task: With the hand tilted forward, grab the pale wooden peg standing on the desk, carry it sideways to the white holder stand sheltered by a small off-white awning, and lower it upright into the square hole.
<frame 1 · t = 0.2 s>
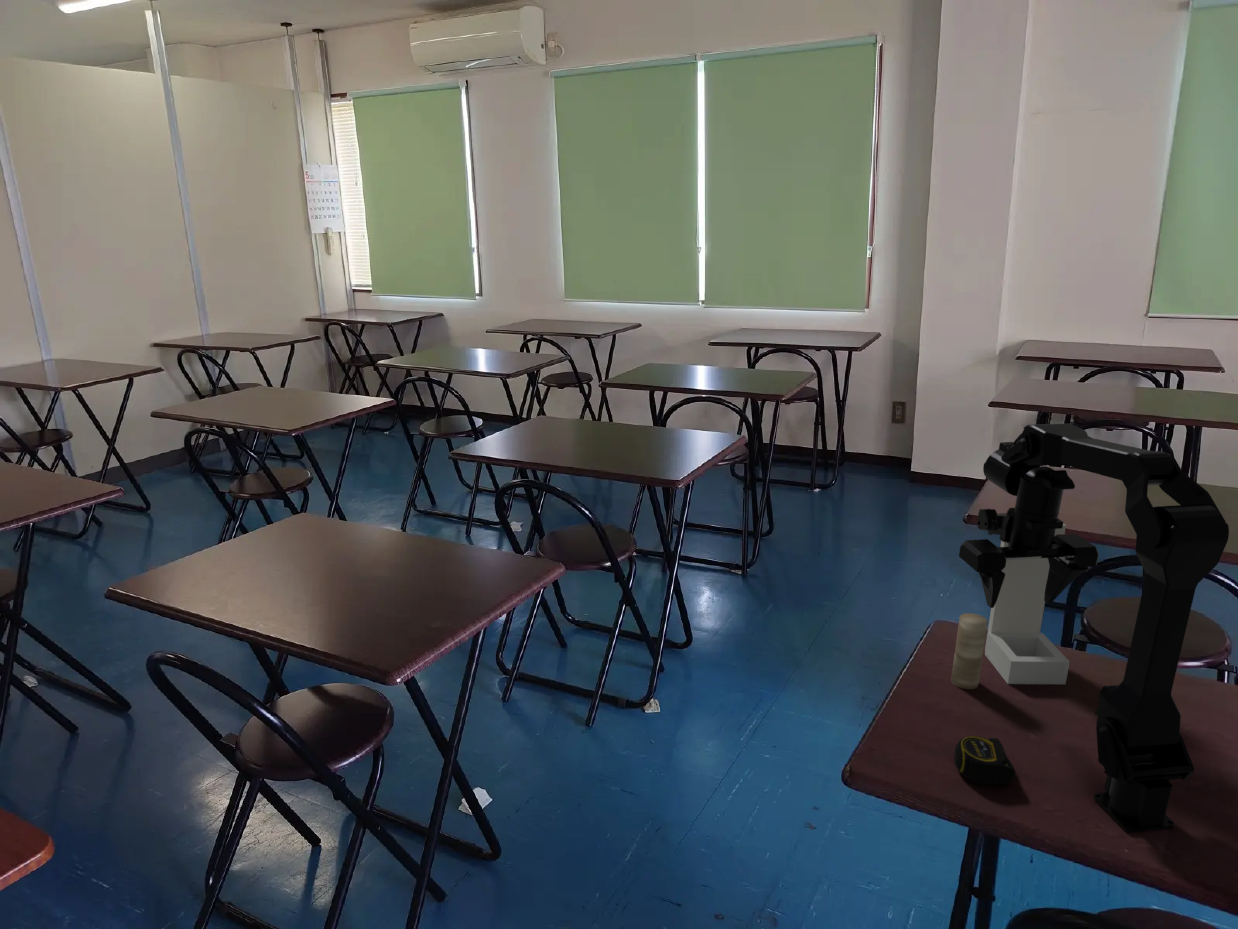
hand: (1018, 604, 128), 14 cm above the table, fingers open, 9 cm apart
white holder stand: (1023, 668, 138), on the table
peg: (964, 682, 134), on the table
tape measure: (984, 773, 114), on the table
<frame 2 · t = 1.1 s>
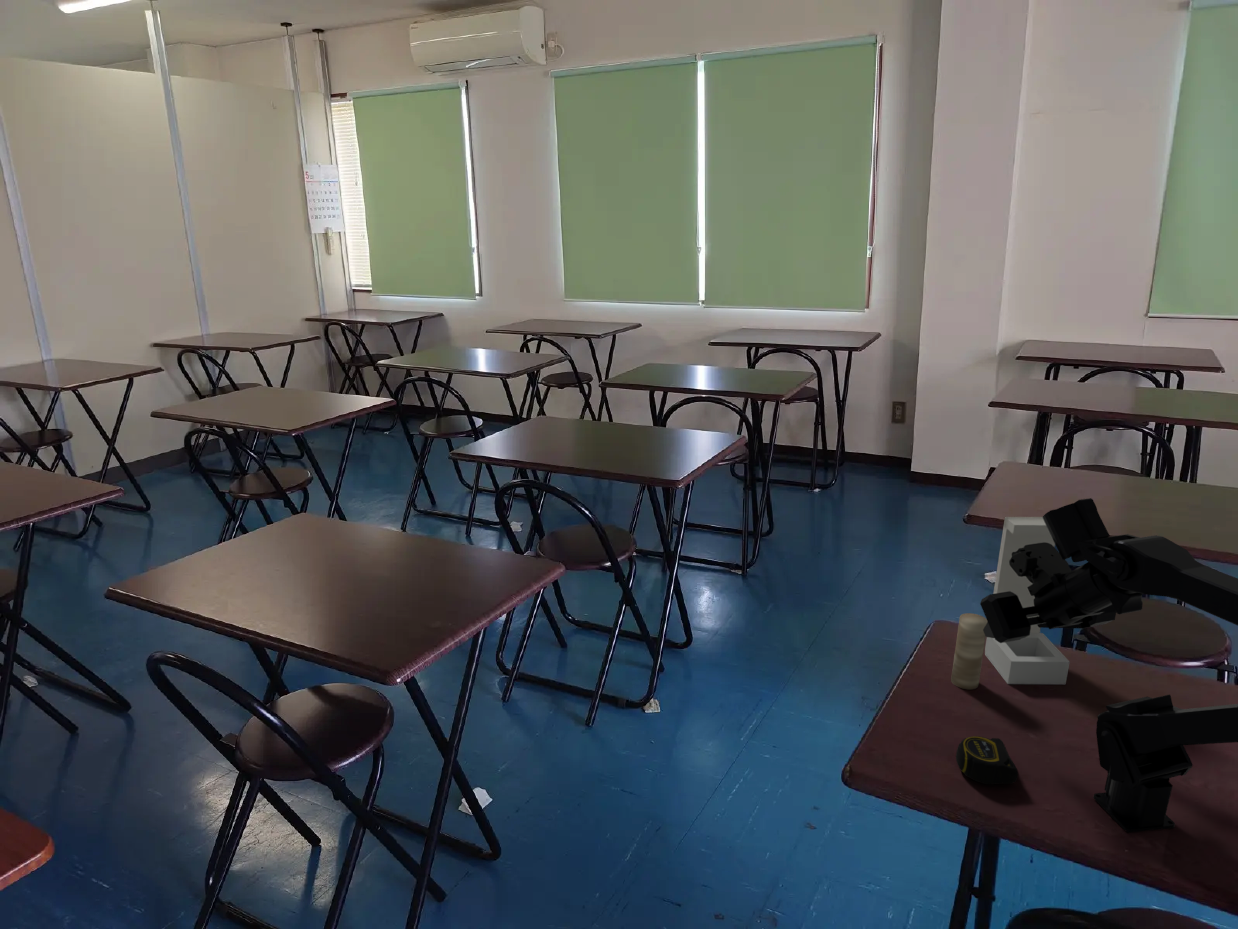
hand: (1011, 628, 123), 13 cm above the table, fingers open, 9 cm apart
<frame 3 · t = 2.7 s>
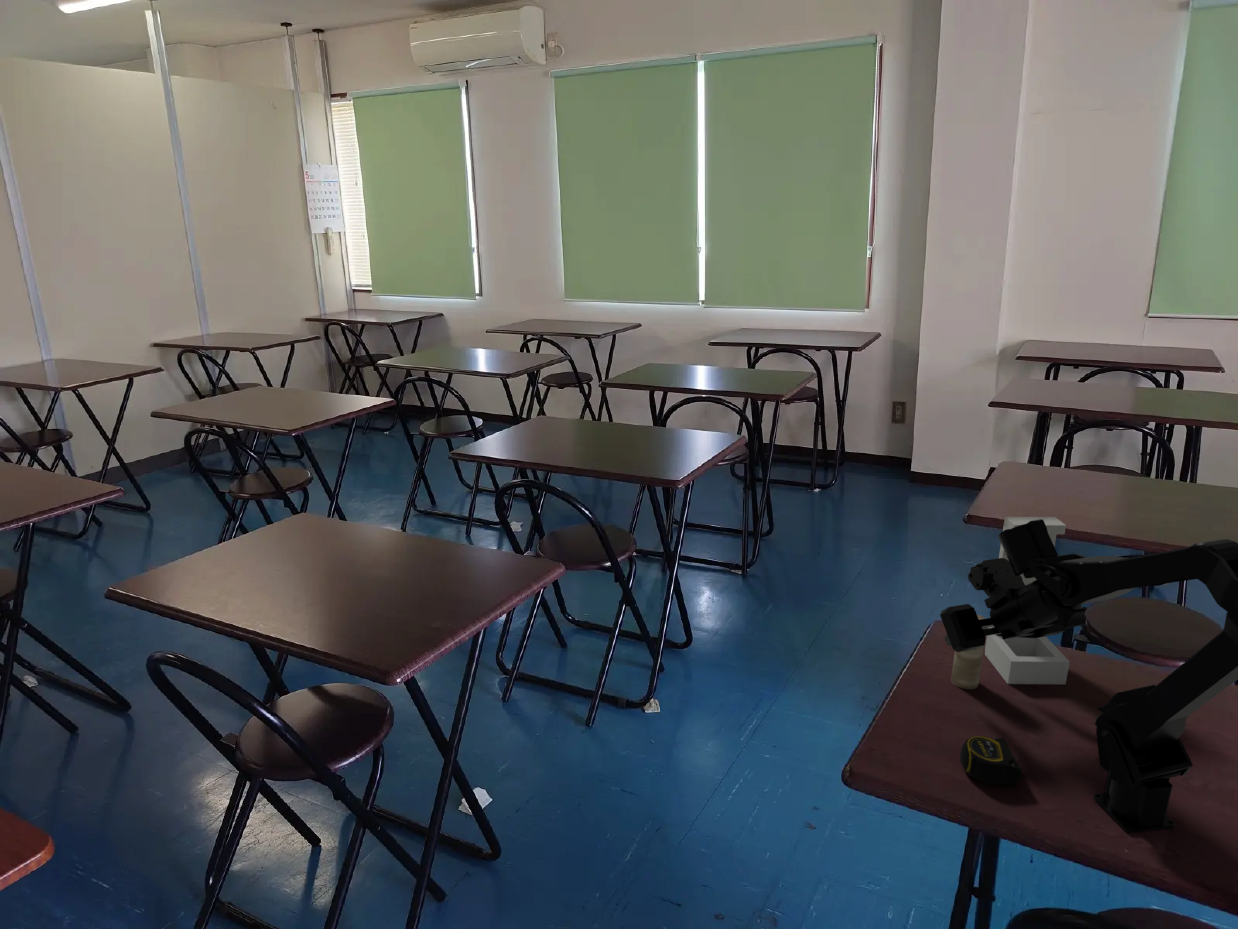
hand: (971, 637, 131), 8 cm above the table, fingers open, 9 cm apart
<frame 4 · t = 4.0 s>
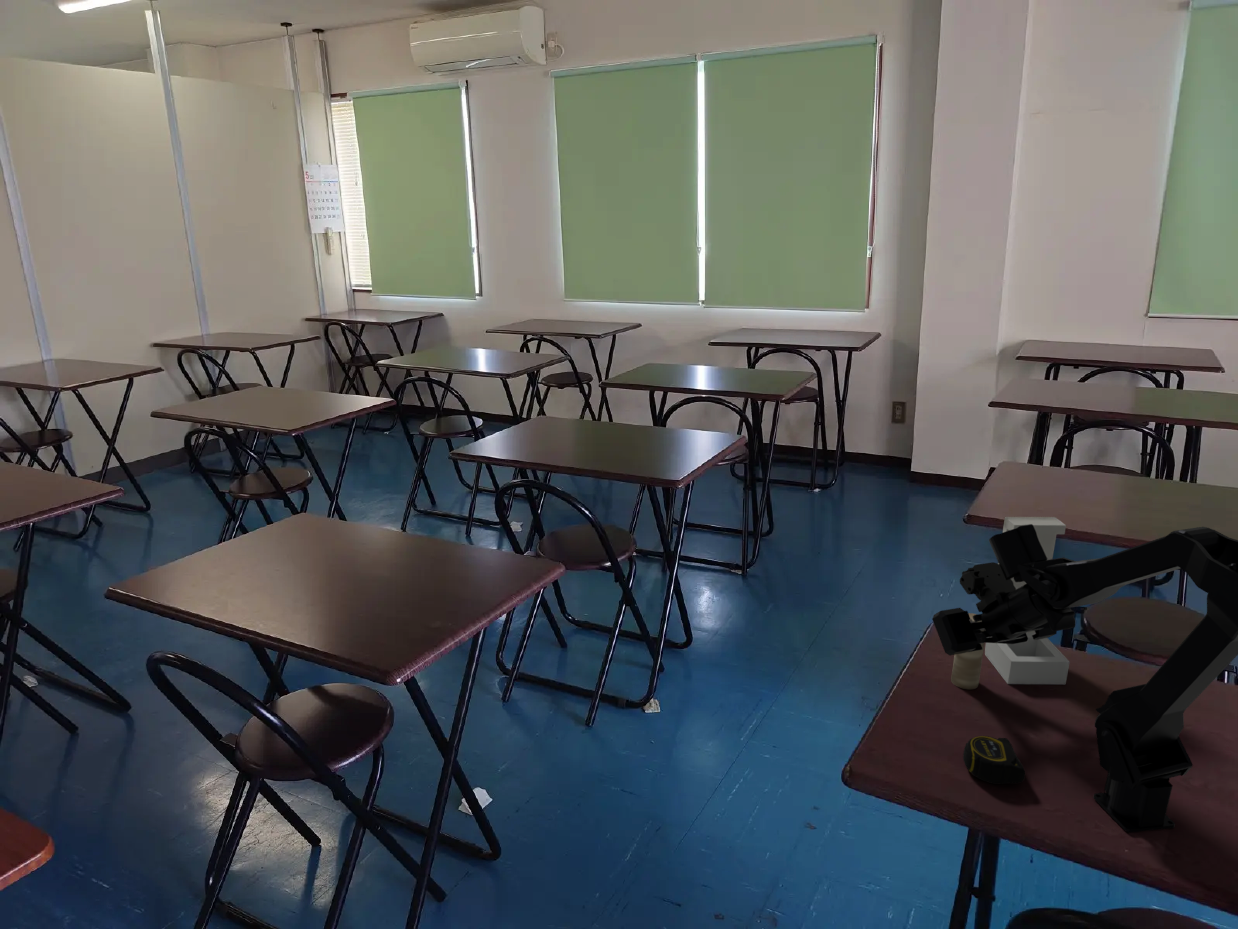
hand: (964, 640, 133), 7 cm above the table, fingers closed on peg, 4 cm apart
peg: (964, 682, 134), on the table, touching gripper
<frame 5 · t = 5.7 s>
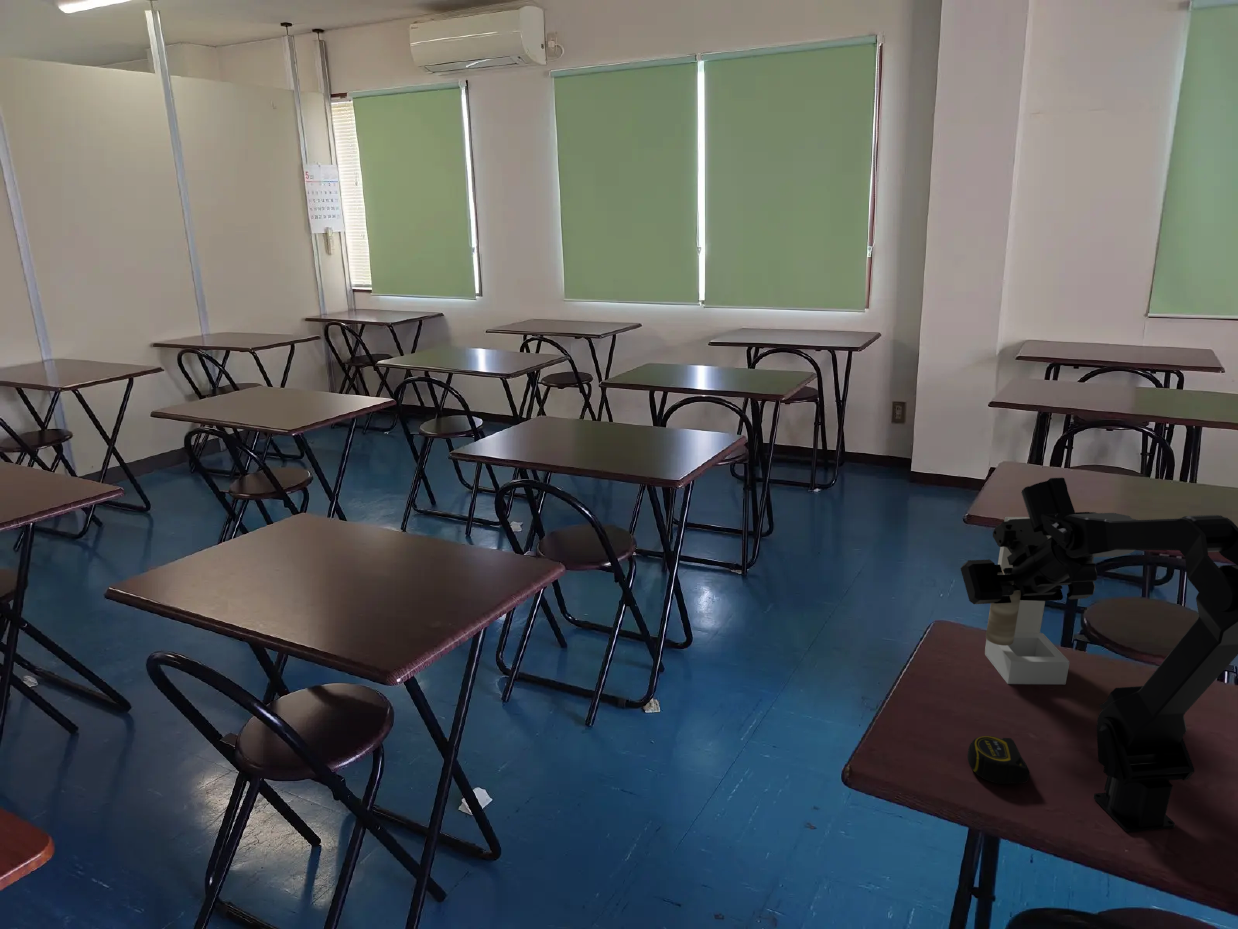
hand: (1000, 597, 134), 13 cm above the table, fingers closed on peg, 4 cm apart
peg: (999, 639, 135), point 6 cm above the table, touching gripper
when the fingers open (8 cm above the table, at t = 7.5 s): peg drops 1 cm, resting in white holder stand.
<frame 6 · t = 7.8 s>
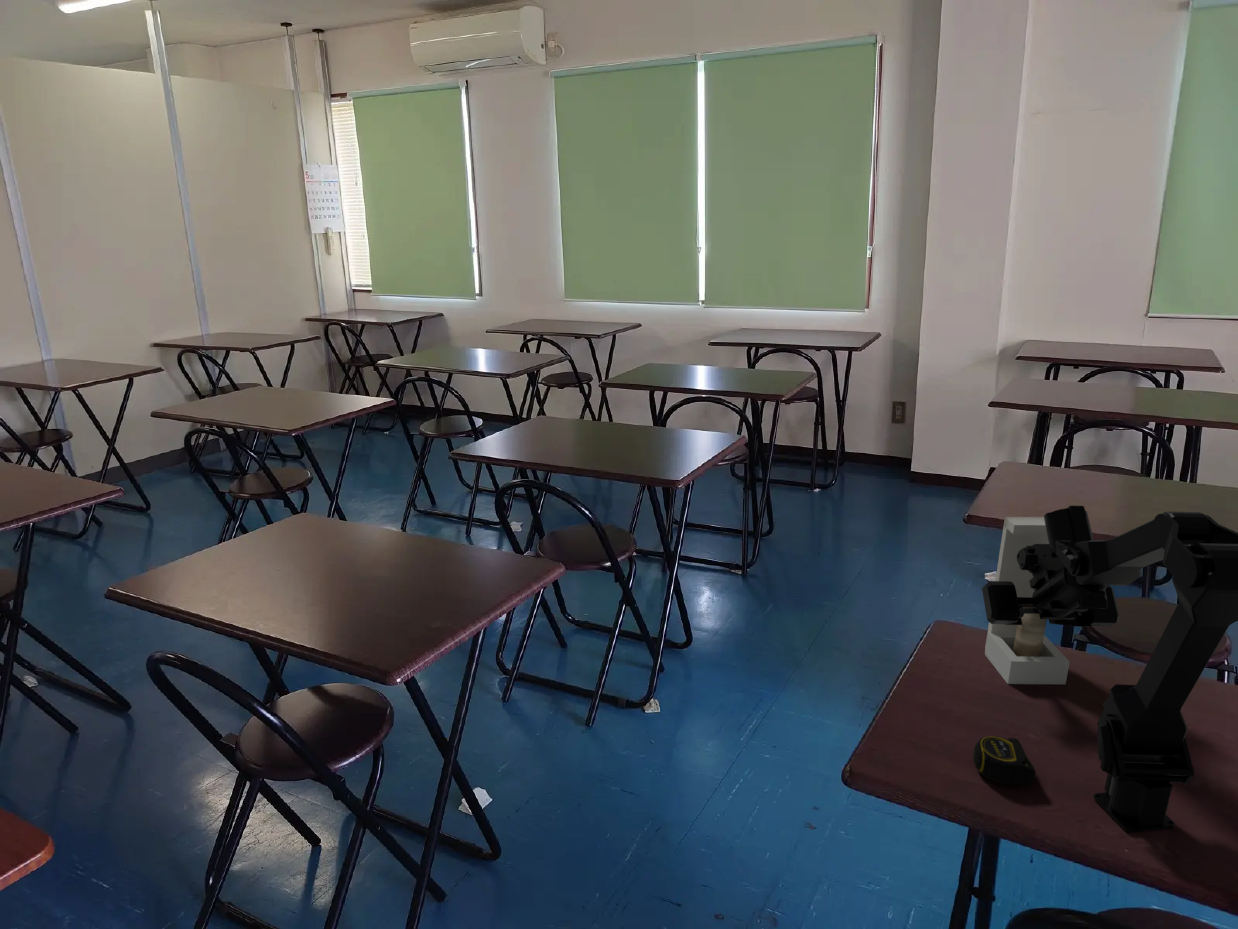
hand: (1027, 620, 137), 8 cm above the table, fingers open, 7 cm apart
peg: (1024, 669, 138), resting in white holder stand
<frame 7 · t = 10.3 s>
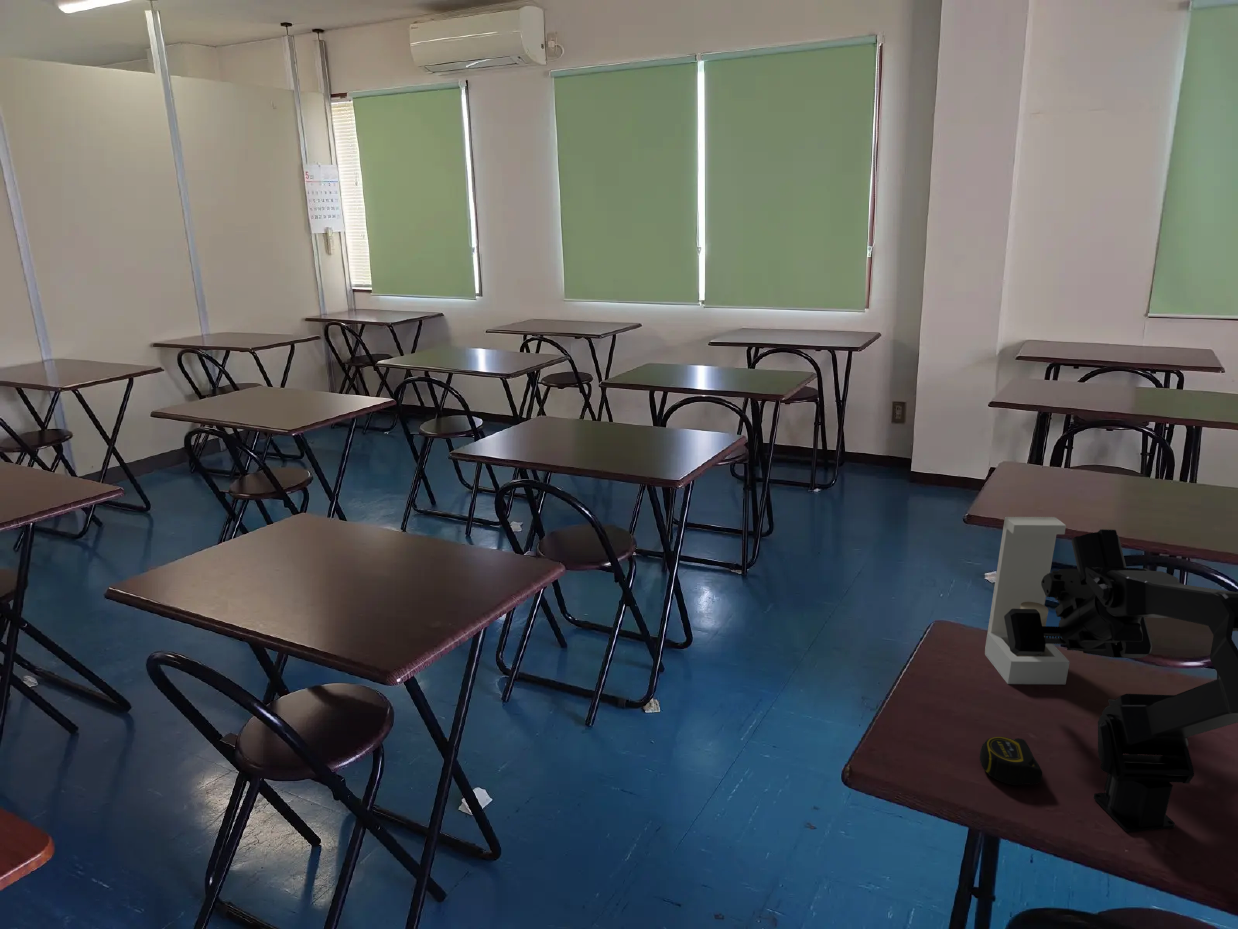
hand: (1052, 648, 128), 8 cm above the table, fingers open, 9 cm apart
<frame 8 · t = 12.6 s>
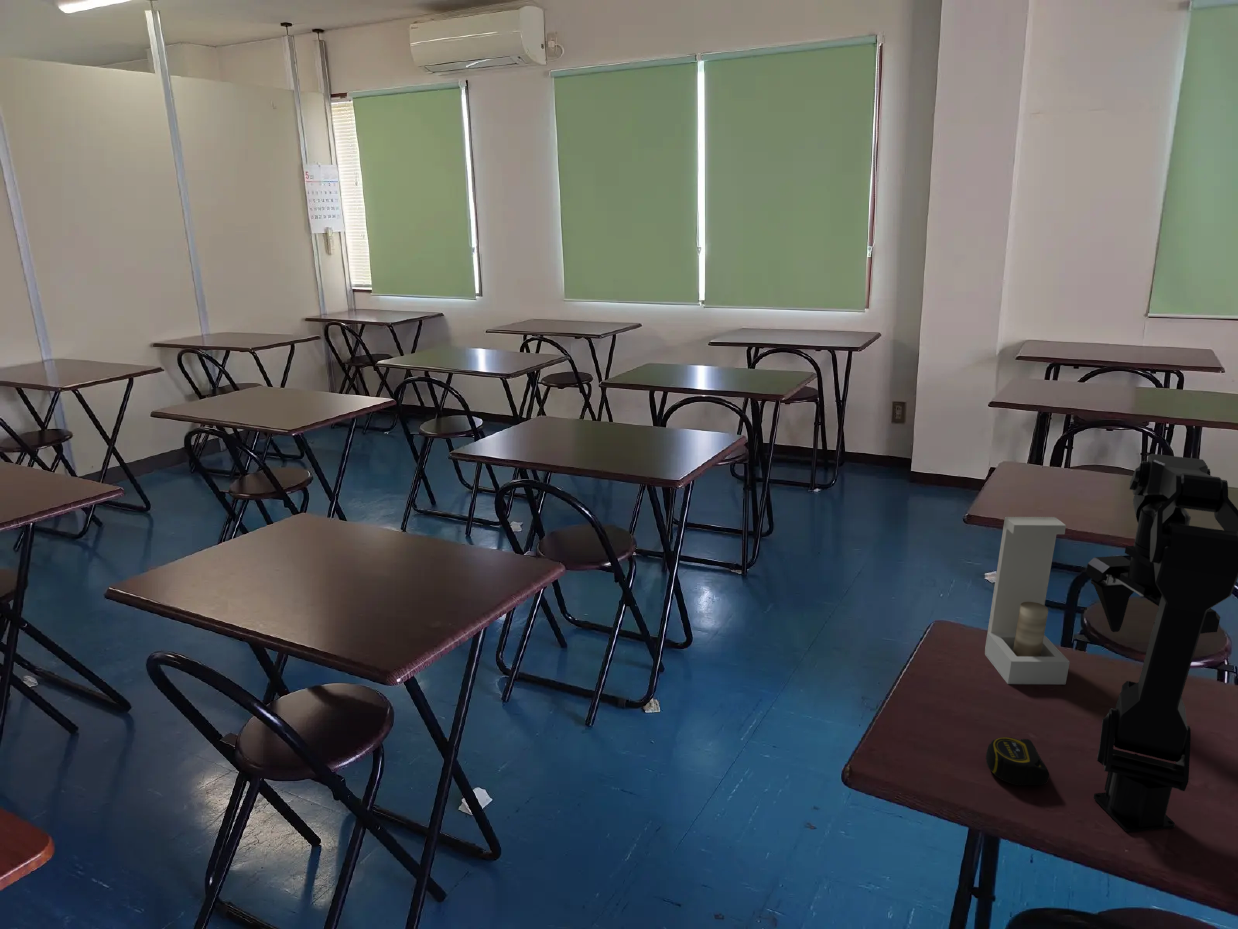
hand: (1137, 647, 121), 12 cm above the table, fingers open, 9 cm apart
at the end: peg 0.0 cm off-centre on the white holder stand, point 0.0 cm above the white holder stand's base; peg tilted 0°; the gripper is holding nothing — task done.
